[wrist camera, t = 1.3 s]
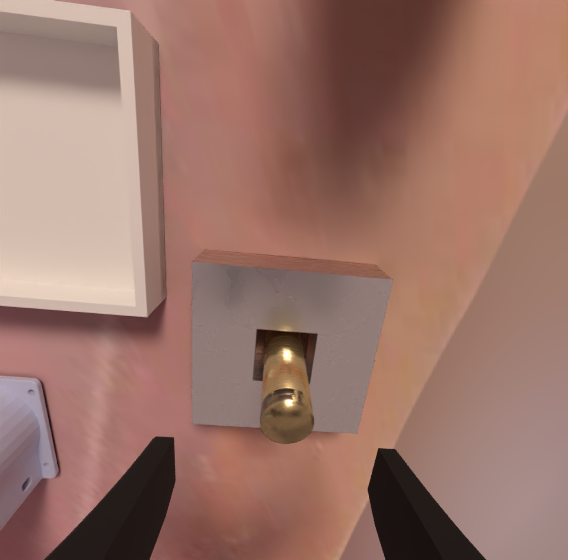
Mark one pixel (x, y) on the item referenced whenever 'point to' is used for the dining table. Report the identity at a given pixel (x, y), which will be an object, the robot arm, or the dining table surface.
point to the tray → (80, 160)
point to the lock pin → (285, 389)
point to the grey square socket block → (283, 317)
